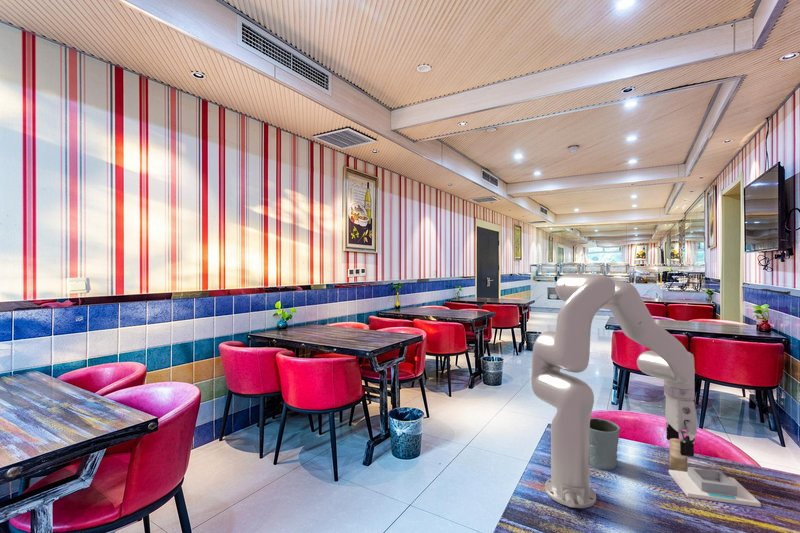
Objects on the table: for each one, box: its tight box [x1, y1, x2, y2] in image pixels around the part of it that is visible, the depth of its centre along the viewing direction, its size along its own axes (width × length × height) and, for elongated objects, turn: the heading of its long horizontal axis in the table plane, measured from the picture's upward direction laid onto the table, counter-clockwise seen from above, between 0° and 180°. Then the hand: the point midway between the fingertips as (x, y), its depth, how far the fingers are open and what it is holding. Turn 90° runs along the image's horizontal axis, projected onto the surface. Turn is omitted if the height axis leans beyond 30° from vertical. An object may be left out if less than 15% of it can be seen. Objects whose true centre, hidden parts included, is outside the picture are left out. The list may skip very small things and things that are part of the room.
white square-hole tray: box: [668, 466, 762, 508], centre depth 104 cm, size 12×16×4 cm
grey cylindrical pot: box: [590, 417, 620, 471], centre depth 118 cm, size 10×10×12 cm
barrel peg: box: [669, 438, 688, 472], centre depth 115 cm, size 4×4×8 cm
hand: (679, 447), depth 115 cm, fingers open, 9 cm apart
